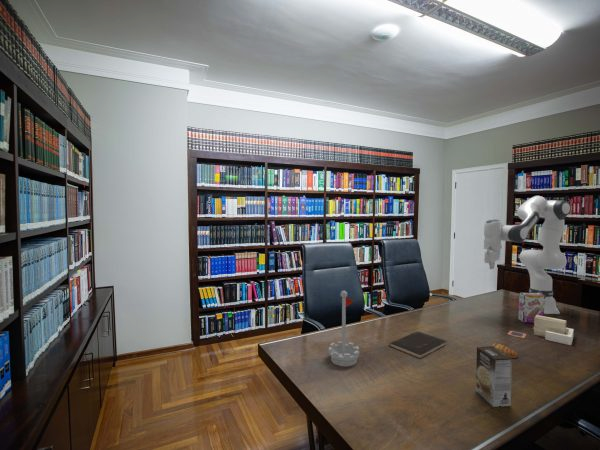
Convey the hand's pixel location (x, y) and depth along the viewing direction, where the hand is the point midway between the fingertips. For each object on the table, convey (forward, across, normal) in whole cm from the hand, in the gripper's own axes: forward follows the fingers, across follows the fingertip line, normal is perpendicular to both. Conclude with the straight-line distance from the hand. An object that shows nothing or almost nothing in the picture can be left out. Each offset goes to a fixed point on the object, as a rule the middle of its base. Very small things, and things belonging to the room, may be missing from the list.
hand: (491, 268), depth 183 cm
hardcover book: (+30, -72, +14) cm, 79 cm away
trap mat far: (+29, -5, -25) cm, 39 cm away
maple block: (+29, -14, -29) cm, 44 cm away
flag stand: (+29, -109, +30) cm, 117 cm away
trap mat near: (+29, -24, -17) cm, 41 cm away
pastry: (+30, -54, -17) cm, 63 cm away
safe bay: (+29, -14, -33) cm, 46 cm away
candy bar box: (+29, +5, -19) cm, 35 cm away
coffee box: (+29, -95, -22) cm, 102 cm away
